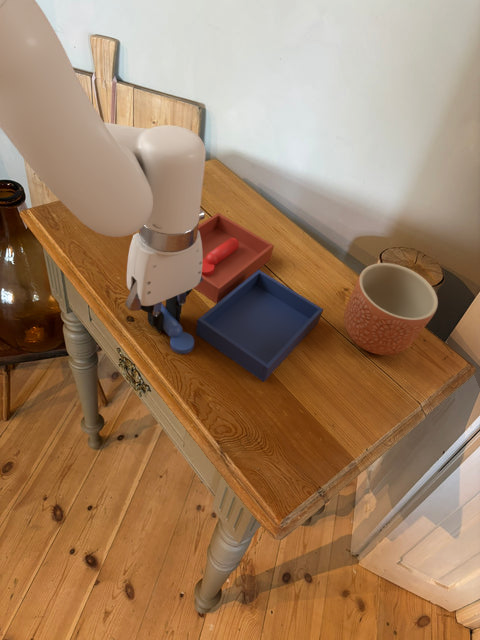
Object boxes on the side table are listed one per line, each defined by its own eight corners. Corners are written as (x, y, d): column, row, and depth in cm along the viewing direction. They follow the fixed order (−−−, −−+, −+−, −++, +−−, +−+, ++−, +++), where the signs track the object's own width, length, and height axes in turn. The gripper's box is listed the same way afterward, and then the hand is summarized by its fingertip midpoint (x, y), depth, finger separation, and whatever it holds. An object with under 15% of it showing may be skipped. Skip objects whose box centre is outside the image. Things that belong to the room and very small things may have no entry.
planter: (374, 377, 72) (403, 332, 64) (321, 324, 78) (342, 276, 70) (423, 346, 78) (455, 302, 70) (370, 299, 84) (394, 253, 76)
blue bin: (195, 334, 72) (197, 319, 70) (255, 283, 82) (258, 269, 79) (263, 382, 68) (268, 368, 65) (317, 323, 78) (323, 309, 75)
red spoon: (227, 242, 88) (229, 232, 86) (242, 251, 87) (244, 241, 85) (189, 269, 81) (190, 258, 79) (205, 279, 80) (206, 269, 78)
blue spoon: (140, 310, 74) (140, 300, 72) (159, 302, 76) (160, 291, 74) (178, 357, 69) (179, 347, 67) (198, 348, 70) (199, 338, 69)
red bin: (158, 265, 81) (159, 249, 79) (216, 227, 91) (218, 212, 89) (216, 303, 77) (219, 288, 75) (270, 259, 87) (274, 245, 84)
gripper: (203, 197, 65) (193, 289, 78) (96, 228, 57) (105, 326, 70) (235, 226, 61) (219, 318, 75) (126, 265, 53) (130, 360, 67)
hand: (164, 321), depth 72 cm, fingers closed on blue spoon, 2 cm apart
